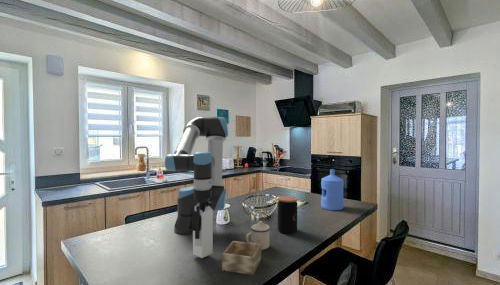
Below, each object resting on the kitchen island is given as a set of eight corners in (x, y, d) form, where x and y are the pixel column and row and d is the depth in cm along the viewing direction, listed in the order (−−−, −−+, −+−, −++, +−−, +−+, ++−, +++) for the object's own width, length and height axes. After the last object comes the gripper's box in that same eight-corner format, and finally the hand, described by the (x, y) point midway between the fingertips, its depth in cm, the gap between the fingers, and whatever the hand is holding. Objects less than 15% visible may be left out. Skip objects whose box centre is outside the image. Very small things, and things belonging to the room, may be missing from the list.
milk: (212, 253, 109) (213, 202, 108) (201, 258, 105) (202, 205, 104) (203, 249, 113) (203, 199, 112) (192, 253, 108) (192, 202, 107)
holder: (222, 270, 98) (222, 253, 98) (232, 255, 110) (232, 240, 110) (253, 275, 95) (253, 258, 95) (261, 259, 107) (261, 244, 107)
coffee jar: (296, 235, 133) (297, 201, 133) (276, 233, 136) (276, 200, 135) (297, 228, 144) (297, 196, 143) (278, 226, 146) (278, 195, 146)
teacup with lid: (263, 240, 126) (264, 217, 126) (273, 247, 118) (273, 223, 118) (241, 245, 121) (242, 220, 121) (250, 253, 113) (250, 227, 112)
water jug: (345, 206, 189) (346, 169, 188) (340, 212, 175) (341, 171, 175) (324, 203, 197) (324, 167, 196) (318, 208, 184) (318, 169, 183)
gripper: (199, 194, 97) (199, 253, 98) (220, 184, 117) (220, 233, 118) (182, 193, 99) (182, 251, 100) (205, 183, 119) (205, 231, 120)
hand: (202, 241), depth 109 cm, fingers closed on milk, 8 cm apart
